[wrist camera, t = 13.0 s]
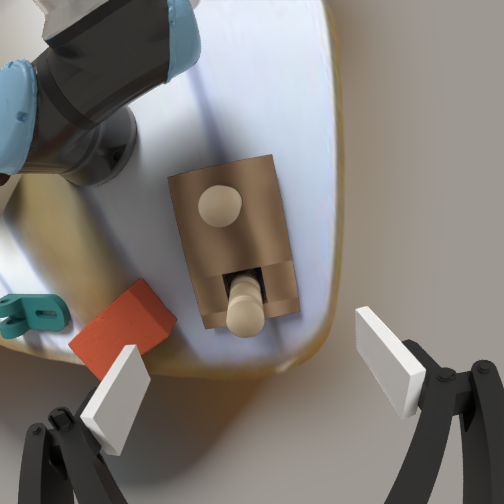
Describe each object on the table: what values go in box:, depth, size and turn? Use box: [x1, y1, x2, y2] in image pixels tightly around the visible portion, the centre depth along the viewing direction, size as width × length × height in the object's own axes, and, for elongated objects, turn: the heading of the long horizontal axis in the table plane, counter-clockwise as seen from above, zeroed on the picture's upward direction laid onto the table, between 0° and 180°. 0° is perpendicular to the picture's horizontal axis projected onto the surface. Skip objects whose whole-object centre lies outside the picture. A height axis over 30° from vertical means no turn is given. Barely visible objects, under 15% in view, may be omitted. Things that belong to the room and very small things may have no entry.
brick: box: [68, 278, 177, 381], centre depth 42 cm, size 18×9×6 cm, turn 127°
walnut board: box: [167, 154, 300, 329], centre depth 35 cm, size 14×22×14 cm, turn 11°
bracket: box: [0, 294, 70, 339], centre depth 40 cm, size 18×7×8 cm, turn 94°
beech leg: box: [226, 269, 265, 338], centre depth 36 cm, size 4×4×14 cm
